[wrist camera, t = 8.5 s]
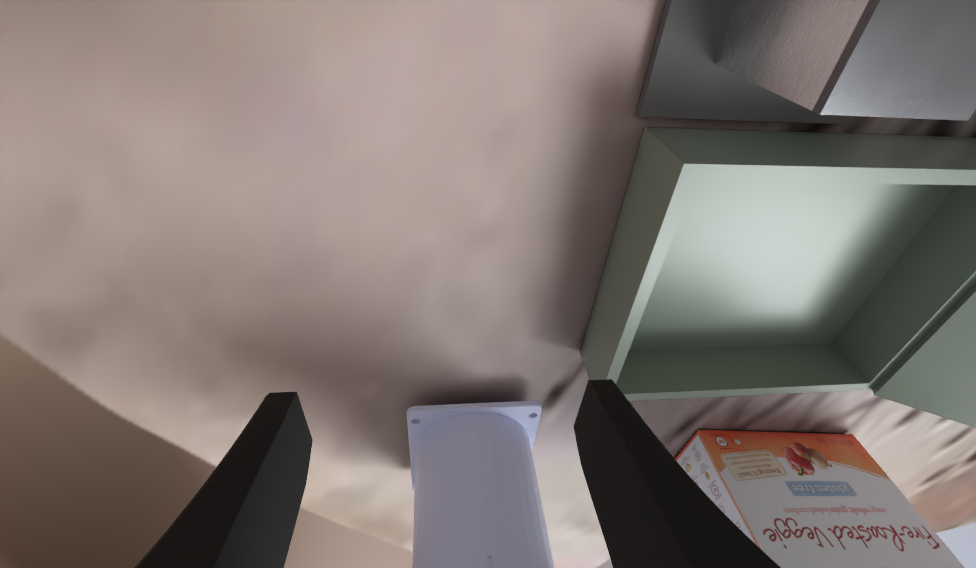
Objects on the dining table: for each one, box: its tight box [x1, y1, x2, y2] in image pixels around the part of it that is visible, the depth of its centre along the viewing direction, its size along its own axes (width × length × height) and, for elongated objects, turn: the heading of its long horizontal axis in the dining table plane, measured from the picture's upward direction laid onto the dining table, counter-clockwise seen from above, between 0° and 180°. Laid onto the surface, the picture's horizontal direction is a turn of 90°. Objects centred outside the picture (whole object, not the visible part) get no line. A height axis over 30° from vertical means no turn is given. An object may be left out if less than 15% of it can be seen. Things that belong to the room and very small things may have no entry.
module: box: [715, 0, 976, 121], centre depth 12 cm, size 4×4×6 cm
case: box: [580, 127, 976, 428], centre depth 19 cm, size 13×29×11 cm, turn 86°
